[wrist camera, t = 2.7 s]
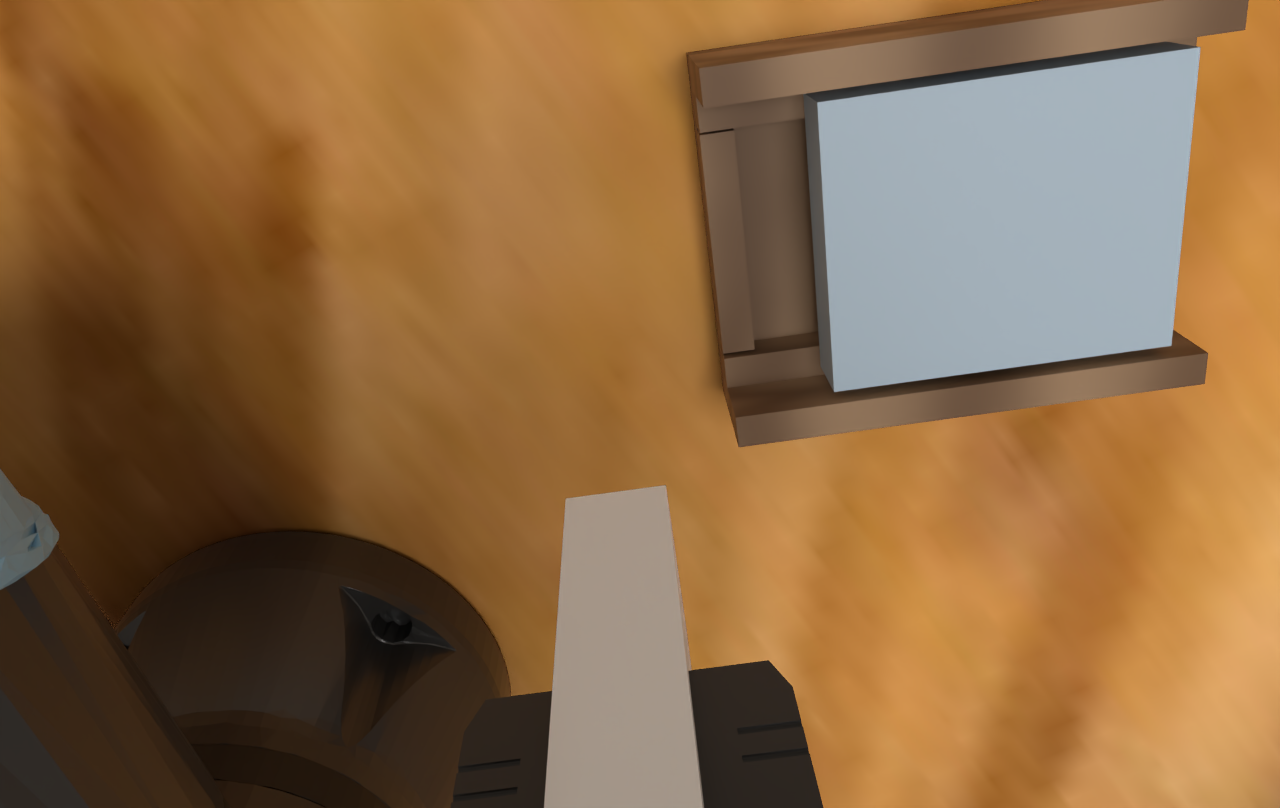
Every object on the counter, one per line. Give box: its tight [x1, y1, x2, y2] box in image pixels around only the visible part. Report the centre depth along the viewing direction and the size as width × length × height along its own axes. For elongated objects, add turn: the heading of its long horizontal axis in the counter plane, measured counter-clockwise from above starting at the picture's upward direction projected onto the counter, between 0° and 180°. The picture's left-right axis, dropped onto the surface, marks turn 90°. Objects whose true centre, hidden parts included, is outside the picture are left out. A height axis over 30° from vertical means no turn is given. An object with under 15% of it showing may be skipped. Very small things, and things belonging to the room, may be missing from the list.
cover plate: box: [803, 41, 1200, 392], centre depth 29 cm, size 10×8×2 cm
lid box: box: [687, 0, 1249, 447], centre depth 29 cm, size 14×11×4 cm
